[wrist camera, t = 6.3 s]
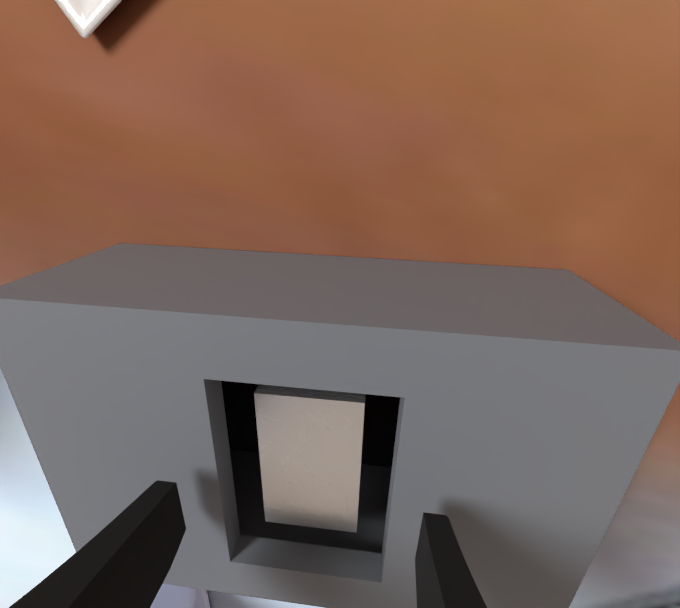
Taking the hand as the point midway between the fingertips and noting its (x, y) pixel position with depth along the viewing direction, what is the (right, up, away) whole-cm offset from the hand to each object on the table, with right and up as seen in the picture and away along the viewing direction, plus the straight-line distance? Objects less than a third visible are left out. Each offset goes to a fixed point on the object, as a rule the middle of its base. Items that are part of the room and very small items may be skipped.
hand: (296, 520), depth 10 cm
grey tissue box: (+1, +3, +6) cm, 7 cm away
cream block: (+1, +3, +7) cm, 7 cm away
